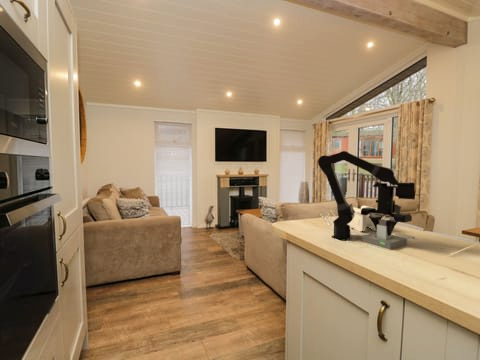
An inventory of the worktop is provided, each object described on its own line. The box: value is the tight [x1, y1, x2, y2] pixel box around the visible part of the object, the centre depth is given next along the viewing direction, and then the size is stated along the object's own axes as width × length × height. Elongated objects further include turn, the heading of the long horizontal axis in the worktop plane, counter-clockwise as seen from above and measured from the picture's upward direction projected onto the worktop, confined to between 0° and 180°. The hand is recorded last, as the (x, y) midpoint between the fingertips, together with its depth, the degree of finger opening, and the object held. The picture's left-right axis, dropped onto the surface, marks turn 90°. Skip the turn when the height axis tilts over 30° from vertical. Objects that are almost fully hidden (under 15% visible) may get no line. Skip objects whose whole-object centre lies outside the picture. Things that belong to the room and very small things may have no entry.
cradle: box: [393, 231, 416, 242], centre depth 115 cm, size 8×8×2 cm
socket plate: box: [361, 231, 408, 251], centre depth 108 cm, size 12×12×3 cm
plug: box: [376, 219, 393, 240], centre depth 108 cm, size 4×4×8 cm
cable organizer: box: [348, 205, 377, 232], centre depth 131 cm, size 15×11×12 cm
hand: (384, 234), depth 108 cm, fingers closed on plug, 4 cm apart
